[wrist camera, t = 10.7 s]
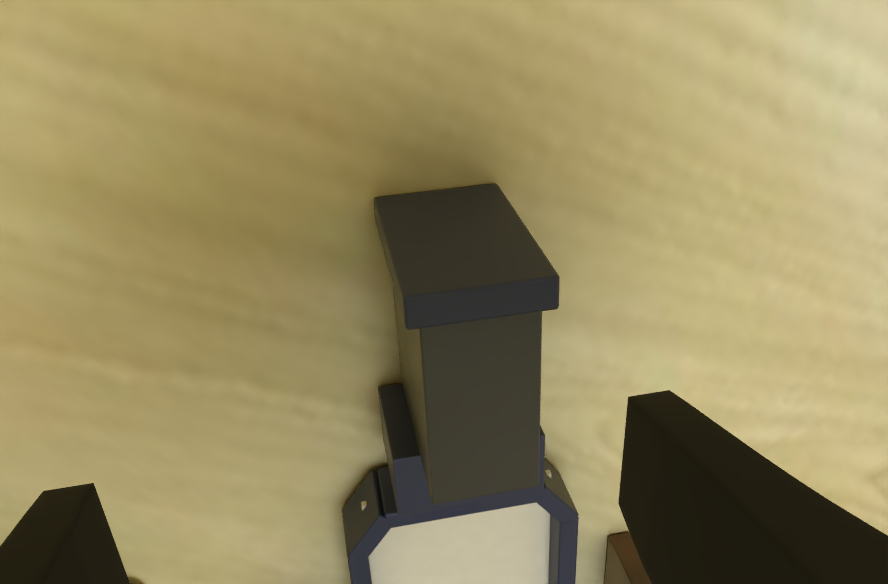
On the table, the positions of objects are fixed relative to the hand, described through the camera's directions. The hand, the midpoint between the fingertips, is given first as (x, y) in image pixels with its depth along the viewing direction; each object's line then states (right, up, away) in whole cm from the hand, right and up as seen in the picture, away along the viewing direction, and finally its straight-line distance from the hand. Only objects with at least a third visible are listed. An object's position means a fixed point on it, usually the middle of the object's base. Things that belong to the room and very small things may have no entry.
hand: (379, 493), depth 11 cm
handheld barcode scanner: (+1, -2, +13) cm, 14 cm away
